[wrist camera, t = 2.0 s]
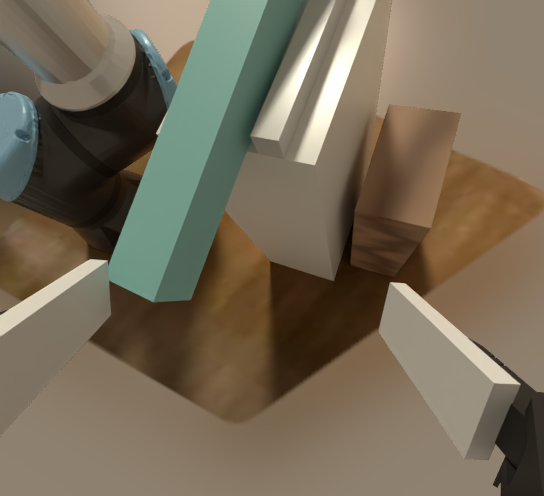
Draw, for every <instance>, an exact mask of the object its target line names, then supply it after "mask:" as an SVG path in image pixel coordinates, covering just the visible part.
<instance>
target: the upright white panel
mask: <svg viewBox="0 0 544 496" xmlns="http://www.w3.org/2000/svg"><path fill="white" fill-rule="evenodd" d="M391 5H392V0H303V3H302V5H301V8H300V11H299V13H298V16H297V19H296V21H295V24H294V27H293V29H292V32H291V35H290V37H289V40H288V43H287V45H286V48H285V51H284V53H283V56H282V59H281V61H280V64H279V67H278V69H277V72H276V75H275V77H274V80H273V83H272V85H271V88H270V91H269V93H268V95H267V98H266V100H265V102H264V104H263V107H262V109H261V111H260V114H259V116H258V118H257V121H256V123H255V125H254V128H253V130H252V132H251V134H250V137H251V141H250V144H249V147H248V149H247V152H246V155H245V157H244V160H243V162H242V165H241V168H240V170H239V173H238V176H237V178H236V181H235V184H234V186H233V189H232V192H231V194H230V197H229V200H228V202H227V205H226V208H225V211H226V212H227V214H228V215H229V216H230V217H231V218H232V219H233V220H234V221H235V222H236V224H237V225H238V226H239V227H240V228H241V229H242V230H243V231H244V232H245V234H246V235H247V236H248V237H249V238H250V239H251V240H252V241H253V243H254V244H255V245H256V246H257V247H258V248H259V249H260V250H261V251H262V253H263V254H264V255H265V256H266V257H267V258H268V259H269V260H270V261H271V262H274V263H277V264H281V265H284V266H287V267H290V268H293V269H296V270H300V271H303V272H306V273H309V274H312V275H315V276H318V277H322V278H325V279H328V280H331V281H334V279H335V276H336V273H337V270H338V267H339V263H340V260H341V257H342V254H343V251H344V248H345V245H346V242H347V239H348V236H349V233H350V229H351V226H352V223H353V220H354V214H355V208H356V205H357V202H358V199H359V196H360V193H361V190H362V187H363V183H364V180H365V177H366V174H367V171H368V168H369V161H370V153H371V146H372V139H373V132H374V125H375V118H376V111H377V104H378V97H379V89H380V83H381V75H382V69H383V60H384V54H385V47H386V40H387V32H388V26H389V19H390V12H391ZM167 112H168V111H167ZM166 115H167V113H166ZM166 115H165V117H166ZM165 117H164V119H163V121H162V123H161V125H160V127H159V129H158V131H157V133H156V134H157V135H159V133H160V130H161V128H162V125H163V122H164V120H165Z"/></svg>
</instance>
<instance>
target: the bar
mask: <svg viewBox="0 0 544 496" xmlns="http://www.w3.org/2000/svg"><path fill="white" fill-rule="evenodd" d="M302 3H303V0H210V3H209V5H208V8H207V11H206V13H205V16H204V18H203V21H202V24H201V26H200V29H199V31H198V34H197V37H196V39H195V42H194V44H193V47H192V50H191V52H190V55H189V57H188V60H187V63H186V65H185V68H184V70H183V73H182V76H181V78H180V81H179V83H178V86H177V89H176V91H175V94H174V96H173V99H172V102H171V104H170V107H169V109H168V112H167V115H166V117H165V120H164V122H163V125H162V128H161V130H160V133H159V135H158V138H157V141H156V143H155V146H154V148H153V151H152V154H151V156H150V159H149V161H148V164H147V167H146V169H145V172H144V174H143V177H142V180H141V182H140V185H139V187H138V190H137V193H136V195H135V198H134V200H133V203H132V206H131V208H130V211H129V213H128V216H127V219H126V221H125V224H124V226H123V229H122V232H121V234H120V237H119V239H118V242H117V245H116V247H115V250H114V252H113V255H112V258H111V260H110V263H109V265H108V274H109V281H111V282H113V283H115V284H117V285H119V286H121V287H123V288H125V289H127V290H129V291H131V292H133V293H135V294H137V295H139V296H142V297H144V298H146V299H148V300H150V301H152V302H166V301H182V300H191V298H192V296H193V293H194V290H195V288H196V285H197V282H198V280H199V277H200V274H201V272H202V269H203V266H204V264H205V261H206V258H207V256H208V253H209V250H210V248H211V245H212V242H213V240H214V237H215V234H216V232H217V229H218V226H219V224H220V221H221V218H222V216H223V213H224V210H225V208H226V205H227V202H228V200H229V197H230V194H231V192H232V189H233V186H234V184H235V181H236V178H237V176H238V173H239V170H240V168H241V165H242V162H243V160H244V157H245V155H246V152H247V149H248V147H249V144H250V141H251V137H250V134H251V132H252V130H253V128H254V125H255V123H256V121H257V118H258V116H259V114H260V111H261V109H262V107H263V104H264V102H265V100H266V98H267V95H268V93H269V91H270V88H271V85H272V83H273V80H274V77H275V75H276V72H277V69H278V67H279V64H280V61H281V59H282V56H283V53H284V51H285V48H286V45H287V43H288V40H289V37H290V35H291V32H292V29H293V27H294V24H295V21H296V19H297V16H298V13H299V11H300V8H301V5H302Z"/></svg>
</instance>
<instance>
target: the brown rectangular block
mask: <svg viewBox="0 0 544 496" xmlns="http://www.w3.org/2000/svg"><path fill="white" fill-rule="evenodd" d="M460 115H461V113H454V112H446V111H438V110H430V109H421V108H414V107H406V106H397V105H389V107H388V110H387V113H386V116H385V119H384V122H383V125H382V128H381V131H380V134H379V137H378V140H377V143H376V147H375V150H374V153H373V156H372V159H371V162H370V165H369V168H368V171H367V174H366V177H365V180H364V183H363V187H362V190H361V193H360V196H359V199H358V202H357V205H356V208H355V214H354V226H353V238H352V250H351V262H350V265H352V266H355V267H359V268H362V269H365V270H369V271H372V272H376V273H379V274H382V275H386V276H389V277H392V278H394V276H395V275H396V274H397V272H398V271H399V270H400V269H401V267H402V266H403V265H404V263H405V262H406V261H407V259H408V258H409V257H410V255H411V254H412V253H413V251H414V250H415V249H416V247H417V246H418V245H419V244H420V242H421V241H422V240H423V238H424V237H425V236H426V234H427V233H428V232H429V230H430V229H431V226H432V223H433V219H434V215H435V211H436V207H437V204H438V200H439V196H440V192H441V188H442V184H443V181H444V177H445V173H446V169H447V165H448V161H449V158H450V154H451V150H452V146H453V142H454V138H455V135H456V131H457V127H458V123H459V119H460Z"/></svg>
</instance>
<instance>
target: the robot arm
mask: <svg viewBox="0 0 544 496" xmlns="http://www.w3.org/2000/svg"><path fill="white" fill-rule="evenodd" d="M0 44H1V45H2V46H3V47H4V48H6V49H7V50H8V51H9V52H11V53H12V54H13V55H14V56H15V57H17V58H18V59H19V60H20V61H22V62H23V63H24V64H25V65H26V66H28V67H29V68H30V69H31V70H33V71H34V72H35V80H36V84H37V87H38V89H39V92H40V93H41V95H42V96H40V97H39V98H38V99H36V100H35V101H32V100H30V99H29V98H28V97H27V96H25V95H21V94H19V93H16V92H8V93H7V94H6V93H3V94H0V198H1V199H3V200H5V201H9V202H13V203H15V204H18V205H20V206H23V207H25V208H27V209H29V210H32V211H34V212H37V213H39V214H41V215H44V216H46V217H49V218H51V219H53V220H56V221H58V222H60V223H63V224H65V225H68V226H70V227H72V228H73V229H74V230H75V231H76V232H77V233H78V234H79V235H80V236H81V237H82V238H83V239H84V240H85V241H86V242H87V243H89V244H90V245H91V246H92V247H94V248H96V249H98V250H100V251H102V252H105V253H108V254H112V255H113V252H114V250H115V247H116V245H117V242H118V239H119V237H120V234H121V232H122V229H123V226H124V224H125V221H126V219H127V216H128V213H129V211H130V208H131V206H132V203H133V200H134V198H135V195H136V193H137V190H138V187H139V185H140V182H141V180H142V177H143V176H141V175H139V174H136V173H133V172H130V171H127V170H124V168H126V167H127V166H129V165H130V164H132V163H133V162H135V161H136V160H138V159H139V158H141V157H142V156H144V155H145V154H147V153H148V152H150V151H151V150H152V149H153V148H154V146H155V143H156V141H157V138H158V135H157V134H156V133H157V131H158V129H159V127H160V125H161V123H162V121H163V119H164V117H165V115H166V113H167V111H168V109H169V107H170V104H171V102H172V99H173V96H174V94H175V91H176V89H177V84H176V82H175V81H174V79H173V77H172V76H171V75H170V73H169V70H168V69H167V66H166V64H165V62H164V61H163V59H162V57H161V56H160V54H159V52H158V51H157V49H156V48H155V46H154V45H153V43H152V42H151V40H150V39H149V38H148V36H147V35H146V34H145V33H144V32H143V31H142V30H140V29H135V30H128V29H127V28H126V26H125V25H124V24H123V23H121V22H120V21H119V20H117V19H116V18H114V17H112V16H109V15H105V14H98V12H97V11H96V10H95V8H94V7H93V6H92V4H91V3H90V2H89V0H0ZM110 316H111V304H110V289H109V274H108V261H106V260H93V259H89V260H88V261H86V262H85V263H83V264H81V265H80V266H78V267H77V268H75V269H73V270H72V271H70V272H69V273H67V274H65V275H64V276H62V277H61V278H59V279H57V280H56V281H54V282H53V283H51V284H49V285H48V286H46V287H45V288H43V289H41V290H40V291H38V292H37V293H35V294H33V295H32V296H30V297H29V298H27V299H25V300H24V301H22V302H21V303H19V304H18V305H16V306H14V307H13V308H11V309H10V310H6V311H3V312H0V436H1V435H2V434H3V433H4V432H5V431H6V429H7V428H8V427H9V426H10V425H11V424H12V423H13V422H14V421H15V420H16V419H17V417H18V416H19V415H20V414H21V413H22V412H23V411H24V410H25V409H26V408H27V407H28V405H29V404H30V403H31V402H32V401H33V400H34V399H35V398H36V397H37V396H38V394H39V393H40V392H41V391H42V390H43V389H44V388H45V387H46V386H47V385H48V384H49V382H50V381H51V380H52V379H53V378H54V377H55V376H56V375H57V374H58V373H59V371H60V370H61V369H62V368H63V367H64V366H65V365H66V364H67V363H68V361H69V360H70V359H71V358H72V357H73V356H74V355H75V354H76V353H77V352H78V351H79V350H80V348H81V347H82V346H83V345H84V344H85V343H86V342H87V341H88V340H89V339H90V338H91V336H92V335H93V334H94V333H95V332H96V331H97V330H98V329H99V328H100V327H101V326H102V324H103V323H104V322H105V321H106V320H107V319H108V318H109V317H110ZM378 332H379V334H380V335H381V337H382V338H383V340H384V341H385V343H386V344H387V346H388V347H389V348H390V350H391V352H392V353H393V354H394V356H395V357H396V359H397V360H398V362H399V363H400V365H401V366H402V368H403V369H404V371H405V372H406V374H407V375H408V377H409V378H410V380H411V381H412V382H413V384H414V385H415V387H416V388H417V390H418V391H419V393H420V394H421V395H422V397H423V399H424V400H425V402H426V403H427V404H428V406H429V408H430V409H431V411H432V412H433V413H434V415H435V416H436V418H437V419H438V421H439V422H440V424H441V425H442V427H443V428H444V430H445V431H446V433H447V434H448V436H449V437H450V439H451V440H452V442H453V443H454V444H455V446H456V447H457V449H458V450H459V452H460V453H461V455H462V456H463V458H464V459H474V460H477V459H478V460H489V458H490V456H491V453H492V451H493V449H494V446H495V444H496V445H497V446H498V447H499V448H500V450H501V451H502V452H503V453H504V454H505V458H504V461H503V463H502V465H501V467H500V470H499V472H498V474H497V477H496V479H495V481H494V483H493V485H494V486H495V487H498V486H499V484H500V483H501V496H544V393H542V392H536V391H535V390H534V389H532V388H531V387H530V386H529V385H528V384H526V383H525V382H524V381H523V380H522V379H520V378H519V377H518V376H517V375H516V374H515V373H514V372H512V371H511V370H510V369H509V368H508V367H507V366H504V364H503V363H502V362H501V361H499V360H498V359H497V358H495V357H494V355H493V354H491V353H490V352H489V351H488V350H487V349H485V348H484V347H483V346H481V345H480V344H478V343H476V342H474V341H473V340H471V339H469V338H467V337H466V336H465V335H464V334H462V333H461V332H460V331H459V330H458V329H457V328H456V327H454V326H453V325H452V324H451V323H450V322H449V321H448V320H446V319H445V318H444V317H443V316H442V315H441V314H440V313H438V312H437V311H436V310H435V309H434V308H432V306H430V305H429V304H428V303H427V302H426V301H425V300H424V299H423V298H421V297H420V296H419V295H418V294H417V293H416V292H415V291H413V290H412V289H411V288H410V287H409V286H408V285H407V284H405V283H393V282H390V285H389V289H388V293H387V297H386V301H385V306H384V310H383V314H382V318H381V323H380V327H379V331H378Z"/></svg>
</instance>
